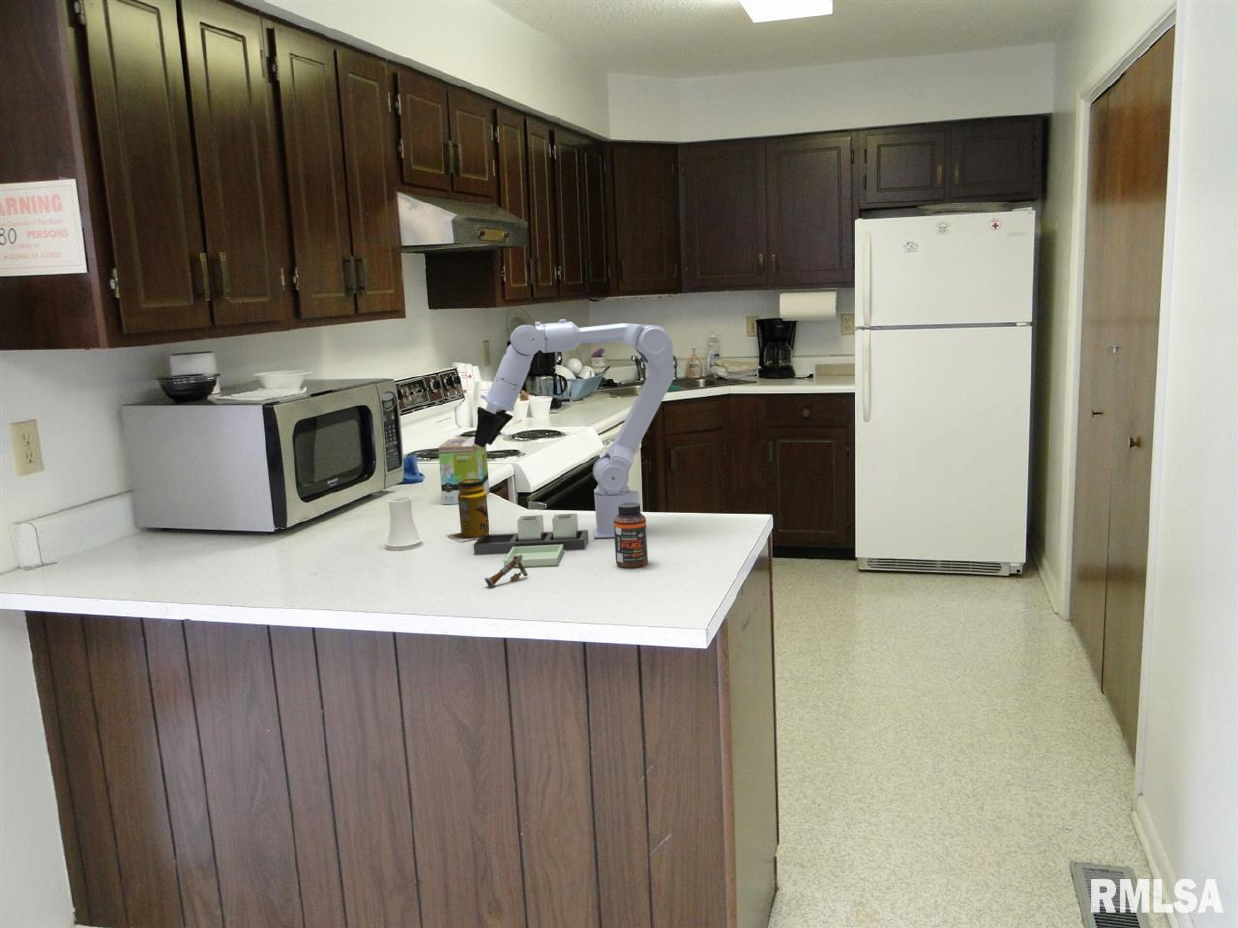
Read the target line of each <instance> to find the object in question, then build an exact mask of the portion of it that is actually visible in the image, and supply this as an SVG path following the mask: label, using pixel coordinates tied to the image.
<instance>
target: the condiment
mask: <svg viewBox="0 0 1238 928" xmlns="http://www.w3.org/2000/svg"><path fill="white" fill-rule="evenodd" d="M483 483H484V482H483V480H482V479H466V480H462V481H460V482H459V484H458V485H459V491H460V493H459V495H458V503H459V504H458V513H459V524H460V532H457V533H451V534H447V535H446V536H447V537H448V538H451V540H454V541H457V542H460V543H462V542H467V541H472V540H478V539H479V538H480V536H481V535H490V534H489V532H490V521H489V511H488V499H487V498H488V497H487V494H486V492H485V491H484V485H483ZM491 533H492V534H493V533H494V532H491ZM494 534H496V533H494Z"/></svg>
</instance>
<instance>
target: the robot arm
mask: <svg viewBox="0 0 1238 928" xmlns="http://www.w3.org/2000/svg"><path fill="white" fill-rule="evenodd" d="M534 324H535V325H531V324H523V325H519V326H517V327H516V328H515V329H514V330H513V332H512V333H511V334H510V344H509V345H508V347H507V349H506V352H505V354H504V355H503V356H502V359H501V362H500V364H499V367H498V369H497V371H496V374H495V377H494V378H493V381H492V383H491V386H490V388H489V391H488V393H487V395H486V394H483V393H482V394H480V399H482V400H484V401H485V403H487V404H486V407H485V408H484V407H481V406H478V407H477V409H476V413H477V423H476V429H475V430H476V431H475V434H474V438H475V439H474V444H476V445H478V446H481V447H483V448H484V447H485V445H486V446H487V445H488V446H492V445H493V443H494V442H495V441H496V439H497V437H498V436H499V434H500V433H501V431H502V430H503V429H504V427H505V426H506V425H508V423H509V422H510V421H511V420H513V418H514V416H513V415H512V414H509V413H507V412H512V413H513V412H514V410H515V406H516V403H517V400H518V398H519V395H520V393H521V391H522V388H523V386H524V383H525V381H526V379H527V376H528V375H529V371H530V369H531V365H532V364H531V363H532V361H533V359H534V356H535V354H536V353H538V352H539V351H541V352H542V353H543V354H545V353H557V352H569V351H570V352H571V351H575V350H576V349H577V347H578V346H579V345H580V344H587V343H588V344H591V343H607V342H620V343H622V344H624V345H628V346H631V347H633V348H634V349H635V351H636V352H637V353H638V355H639V357H641V359H642V360H643V363H644V365H645V368H646V371H647V377H646V379H645V381H644V383H643V385H642V386H641V388H640V390H639V393H638V395H637V396H636V398H635V400H634V402H633V404H632V406H631V408H630V410H629V412H628V414H627V415H626V417H625V420H624V421H623V423H622V426H621V427H620V429H619V430H618V433H617V435H616V437H615V438H614V441H613V442H612V443H611V445H609V447H608V448H607V450H606V451H605V453H604V454H603V456H601V457H600V458H598V459H597V461H596V462H595V463H594V464H593V467H592V475H593V478H594V479H595V481H596V482H597V483H598V484H597V485H596V488H594V490H593V493H594V495H593V496H594V506H595V507H594V509H595V511H594V512H595V522H596V523H595V524H596V528H595V531H594V533H593V538H594V539H602V538H605V539H607V538H608V539H609V538H615V535H614V519H615V517H616V516H618V514H619V512H618V505H619V504H621V503H627V502H635V503H639V504H640V505H641V501H640V492H639V490H630V487H629V486H628V483H629V473H630V470H631V467H632V465H633V463H634V457H635V454H636V452H637V449H638V448H639V446H640V444H641V443H642V440H643V438H644V436H645V434H646V432H647V430H648V429H649V427H650V425H651V423H652V421H653V419H654V417H655V415H656V413H657V411H658V410H659V408H660V406H661V404H662V402H663V400H664V398H665V397H666V394H667V392H668V390H669V388H670V387H671V384H672V383H673V381H674V378H675V365H674V364H675V361H674V347H675V346H674V343H673V342H672V339H671V336H670V334H669V333H668V331H667V330H666V329H665V328H663V327H662V326H660V325H653V324H640V323H639V324H638V323H627V322H626V323H625V322H621V323H611V324H603V325H593V326H585V327H578V326H577V325H576V324H575V323H574V322H572V321H567V319H564V318H563V319H559V320H558V322H552V323H542V322H541V321H535V322H534Z"/></svg>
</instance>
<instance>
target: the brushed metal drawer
mask: <svg viewBox="0 0 1238 928" xmlns="http://www.w3.org/2000/svg"><path fill="white" fill-rule="evenodd" d="M551 522H552V525H551V526H552V532H553V537H554V540H563V539H579V532H578V530H579V522H578V513H563V514H562V513H560V514H554V516H553V517H552V519H551Z"/></svg>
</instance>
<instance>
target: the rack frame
mask: <svg viewBox="0 0 1238 928" xmlns="http://www.w3.org/2000/svg"><path fill="white" fill-rule="evenodd" d="M578 532H579V539H563V540H554V537H553V531H544V536H545V540H541V541H520V542H519V538H518V532H515V533H514V532H513V533H495V534H490V535H481V536H480V538H478V539H476V541H475V543H474V544H473V552H474V553H473V554H474V555H497V554H508V553H509V552H510V550H511V549H512V547H519V546H541V545H563V546H564V550H566V551H583V550H586V547H587V544H588V543H589V540H588V539H589V530H588V529H582V530H581V529H578Z"/></svg>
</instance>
